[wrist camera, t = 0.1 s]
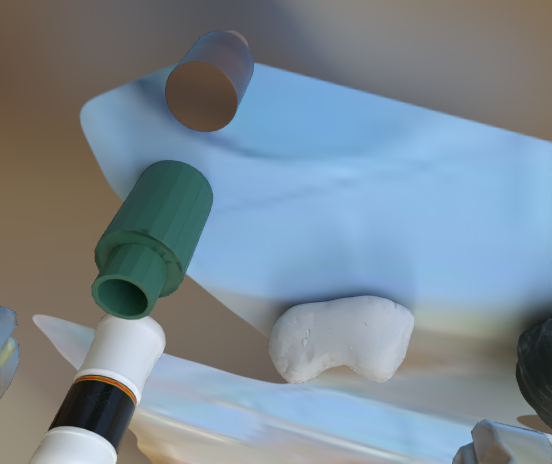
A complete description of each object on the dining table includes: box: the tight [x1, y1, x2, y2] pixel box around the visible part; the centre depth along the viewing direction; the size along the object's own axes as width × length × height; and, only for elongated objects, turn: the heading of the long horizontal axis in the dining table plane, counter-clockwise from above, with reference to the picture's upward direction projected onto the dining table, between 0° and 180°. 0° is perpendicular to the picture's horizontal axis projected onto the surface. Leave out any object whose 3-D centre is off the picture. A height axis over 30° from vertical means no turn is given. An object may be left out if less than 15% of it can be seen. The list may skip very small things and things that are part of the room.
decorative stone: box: [268, 296, 415, 384], centre depth 60 cm, size 17×10×10 cm
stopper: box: [165, 30, 254, 132], centre depth 40 cm, size 5×5×11 cm
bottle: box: [92, 161, 213, 320], centre depth 48 cm, size 8×8×16 cm
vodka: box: [29, 313, 166, 464], centre depth 57 cm, size 9×9×30 cm
